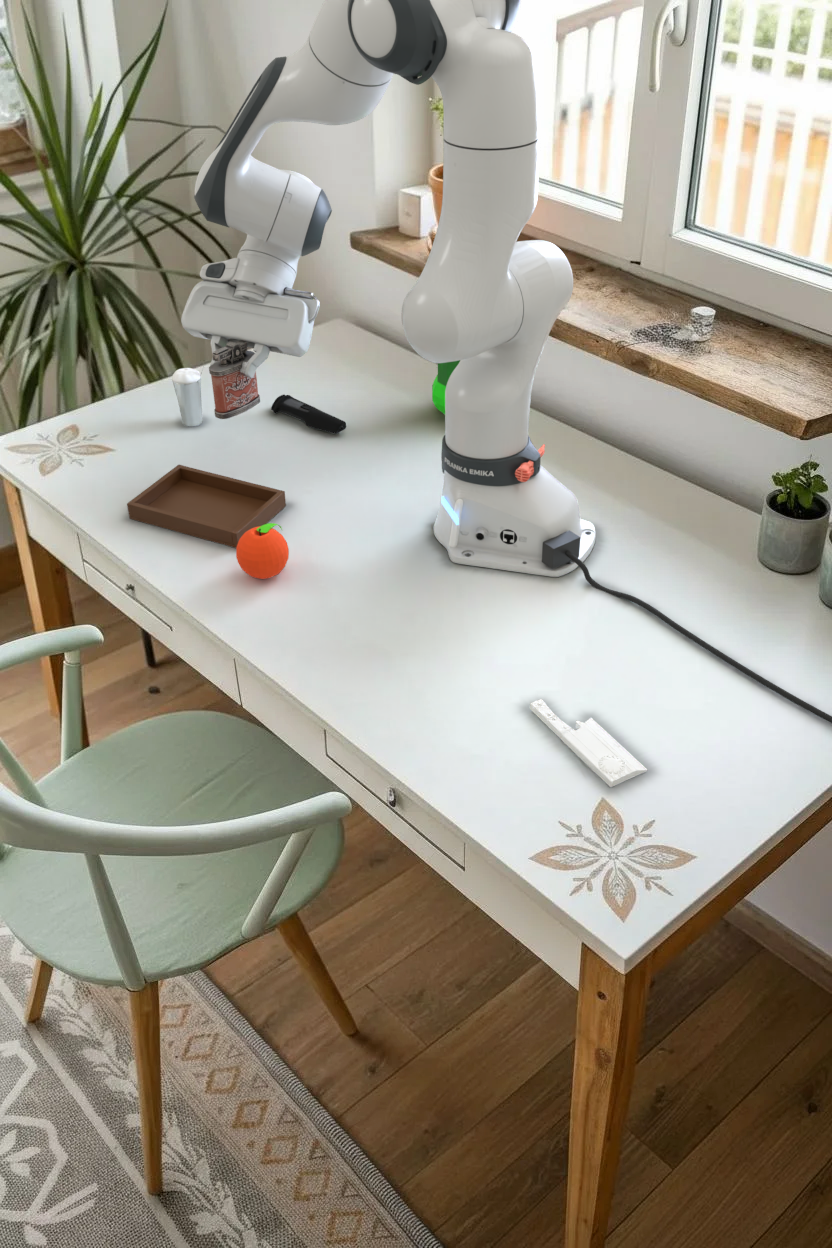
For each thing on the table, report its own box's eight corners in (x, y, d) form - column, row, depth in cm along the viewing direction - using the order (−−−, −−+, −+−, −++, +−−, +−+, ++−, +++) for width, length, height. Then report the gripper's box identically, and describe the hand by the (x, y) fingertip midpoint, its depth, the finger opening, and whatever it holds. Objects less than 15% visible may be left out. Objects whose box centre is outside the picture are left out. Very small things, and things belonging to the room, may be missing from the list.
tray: (286, 506, 176) (284, 491, 175) (238, 548, 167) (236, 533, 166) (180, 478, 183) (178, 464, 182) (129, 518, 174) (126, 503, 173)
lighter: (249, 395, 182) (242, 332, 176) (265, 401, 180) (259, 337, 174) (209, 415, 177) (201, 350, 171) (225, 421, 175) (217, 356, 169)
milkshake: (209, 428, 196) (201, 371, 190) (176, 428, 196) (167, 371, 190) (213, 415, 200) (206, 359, 194) (181, 416, 200) (173, 359, 194)
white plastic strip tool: (565, 694, 141) (566, 687, 140) (647, 772, 131) (648, 764, 130) (529, 708, 139) (530, 701, 138) (609, 788, 129) (610, 780, 128)
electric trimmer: (335, 443, 192) (334, 425, 190) (269, 413, 200) (268, 395, 198) (352, 435, 194) (351, 417, 192) (286, 405, 202) (285, 387, 200)
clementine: (264, 551, 167) (259, 506, 162) (305, 565, 164) (301, 520, 160) (228, 579, 161) (222, 534, 157) (270, 594, 158) (265, 548, 154)
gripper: (332, 303, 175) (302, 393, 174) (213, 283, 182) (184, 369, 181) (314, 284, 169) (283, 377, 168) (192, 263, 177) (162, 352, 175)
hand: (230, 372), depth 175 cm, fingers closed on lighter, 4 cm apart
